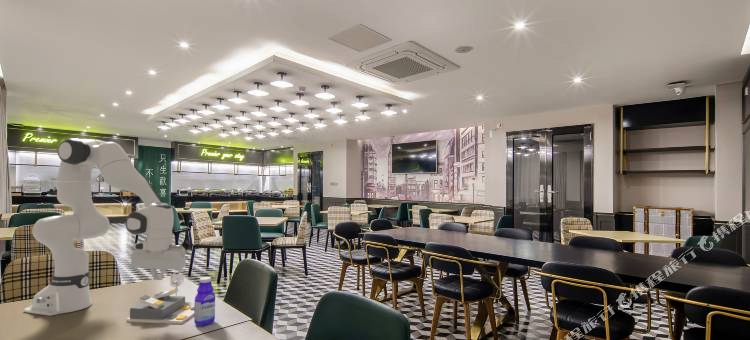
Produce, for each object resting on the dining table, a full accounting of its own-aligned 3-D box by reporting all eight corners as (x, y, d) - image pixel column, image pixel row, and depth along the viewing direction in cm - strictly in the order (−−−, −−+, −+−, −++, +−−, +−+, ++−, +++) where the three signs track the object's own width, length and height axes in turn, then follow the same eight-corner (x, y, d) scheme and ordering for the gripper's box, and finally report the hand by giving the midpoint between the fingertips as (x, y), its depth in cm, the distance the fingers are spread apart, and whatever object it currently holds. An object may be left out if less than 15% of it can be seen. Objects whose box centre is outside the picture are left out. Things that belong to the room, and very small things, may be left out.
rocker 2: (154, 299, 149) (153, 295, 149) (160, 295, 153) (160, 292, 153) (172, 294, 149) (171, 290, 149) (178, 291, 153) (177, 287, 153)
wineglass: (176, 302, 160) (177, 275, 160) (165, 301, 161) (166, 274, 162) (186, 298, 166) (186, 271, 166) (175, 296, 167) (176, 270, 167)
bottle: (199, 328, 134) (201, 281, 134) (191, 324, 137) (192, 278, 137) (217, 321, 140) (218, 276, 140) (208, 318, 143) (210, 274, 143)
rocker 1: (138, 301, 139) (139, 298, 139) (145, 298, 143) (146, 294, 143) (156, 308, 139) (158, 305, 139) (163, 305, 143) (164, 301, 143)
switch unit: (126, 321, 138) (126, 306, 138) (153, 306, 154) (154, 293, 154) (181, 323, 137) (182, 308, 137) (203, 308, 153) (204, 294, 153)
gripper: (189, 244, 144) (188, 278, 144) (140, 241, 145) (138, 275, 145) (180, 247, 138) (179, 283, 138) (129, 244, 139) (127, 280, 138)
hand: (157, 279), depth 141 cm, fingers closed
